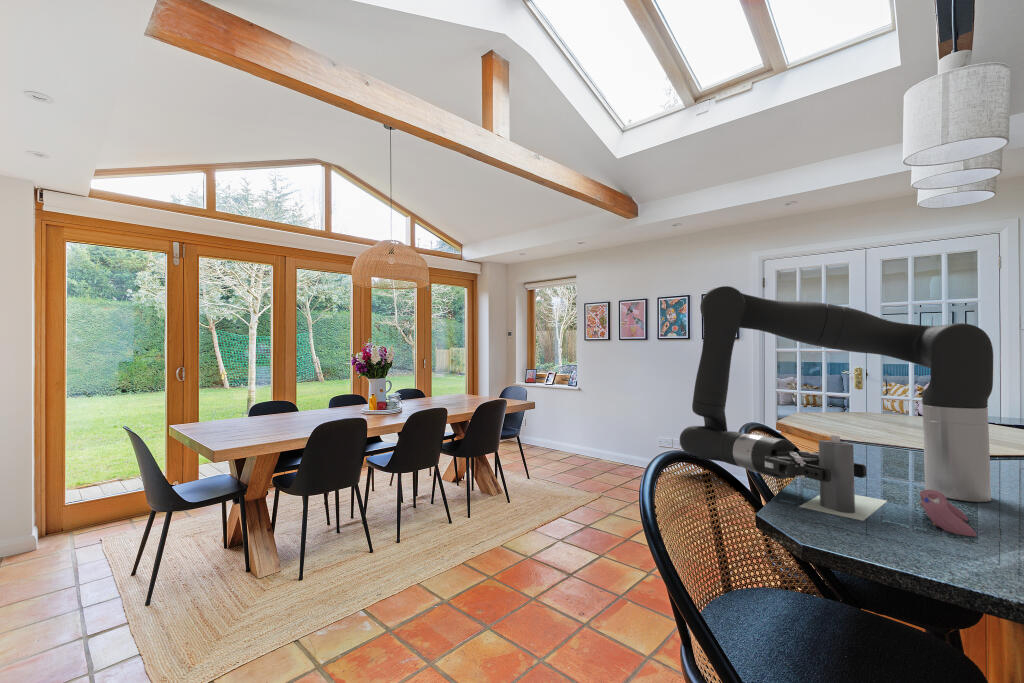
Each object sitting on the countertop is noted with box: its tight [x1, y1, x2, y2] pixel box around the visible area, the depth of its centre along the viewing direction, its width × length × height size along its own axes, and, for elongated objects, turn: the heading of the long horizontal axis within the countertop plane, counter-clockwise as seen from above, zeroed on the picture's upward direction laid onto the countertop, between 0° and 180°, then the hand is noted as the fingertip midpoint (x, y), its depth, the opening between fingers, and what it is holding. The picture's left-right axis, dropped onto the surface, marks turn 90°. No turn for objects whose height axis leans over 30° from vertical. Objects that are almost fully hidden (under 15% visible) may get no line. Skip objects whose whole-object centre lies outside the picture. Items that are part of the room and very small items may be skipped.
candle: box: [818, 434, 856, 513], centre depth 78 cm, size 5×3×12 cm, turn 20°
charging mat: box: [798, 494, 888, 522], centre depth 81 cm, size 16×9×1 cm, turn 130°
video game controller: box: [918, 489, 977, 537], centre depth 71 cm, size 10×5×7 cm, turn 141°
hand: (847, 473), depth 76 cm, fingers open, 8 cm apart
